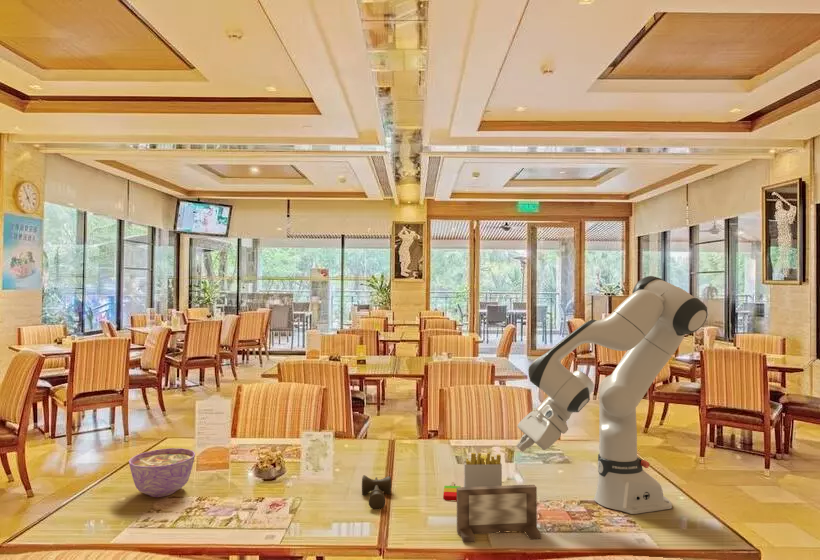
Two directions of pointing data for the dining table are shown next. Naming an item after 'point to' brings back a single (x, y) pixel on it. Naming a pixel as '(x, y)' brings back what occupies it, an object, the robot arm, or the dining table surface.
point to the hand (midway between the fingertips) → (519, 449)
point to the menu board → (497, 510)
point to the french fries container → (483, 471)
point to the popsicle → (450, 492)
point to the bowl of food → (161, 470)
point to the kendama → (376, 490)
